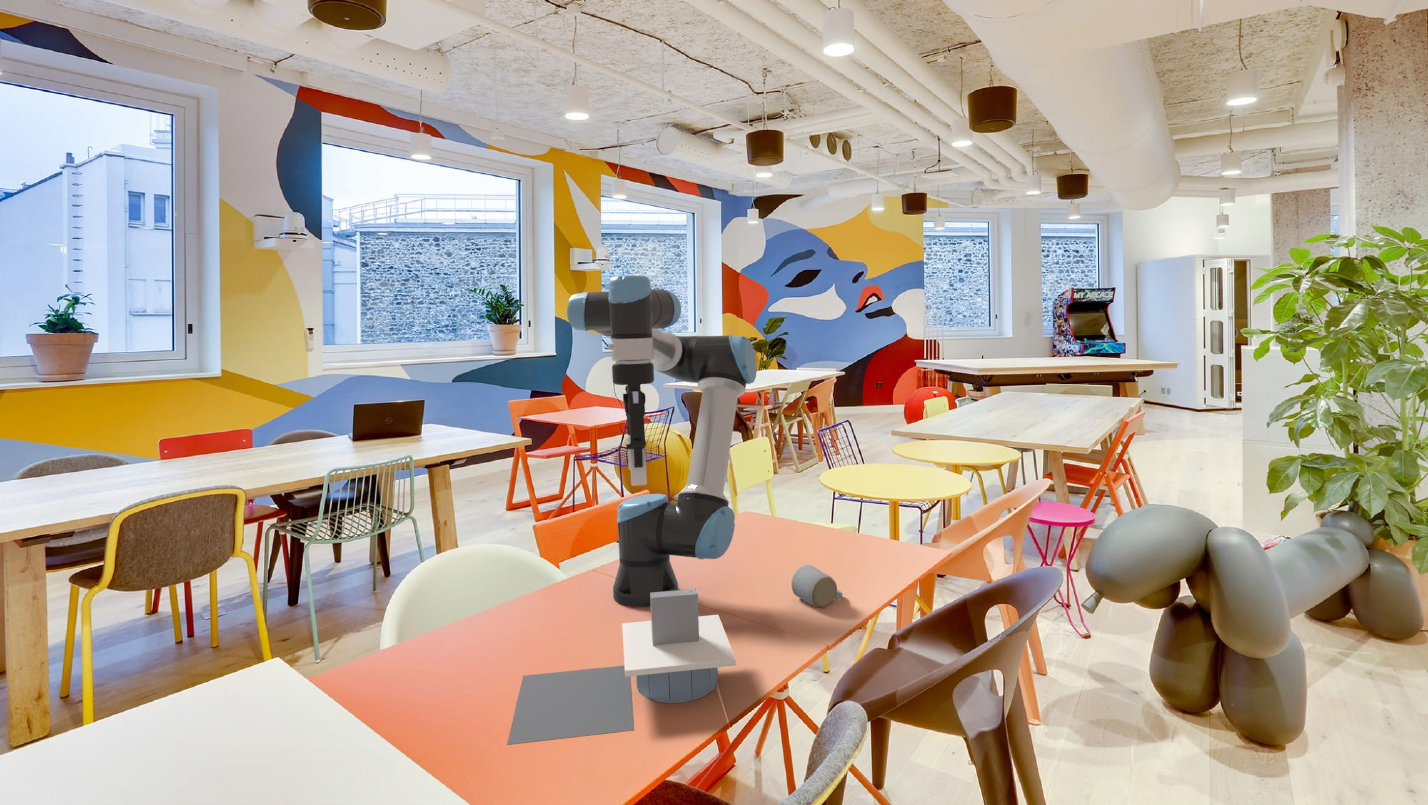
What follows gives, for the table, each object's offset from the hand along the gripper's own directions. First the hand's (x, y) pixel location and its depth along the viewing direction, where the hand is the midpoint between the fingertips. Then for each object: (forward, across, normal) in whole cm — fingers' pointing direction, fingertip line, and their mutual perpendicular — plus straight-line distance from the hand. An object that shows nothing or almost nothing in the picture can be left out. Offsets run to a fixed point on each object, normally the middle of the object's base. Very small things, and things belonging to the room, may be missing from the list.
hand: (637, 476), depth 129 cm
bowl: (+35, +12, +5) cm, 37 cm away
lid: (+28, +12, +5) cm, 31 cm away
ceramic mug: (+35, -18, +40) cm, 56 cm away
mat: (+35, +15, -12) cm, 40 cm away
